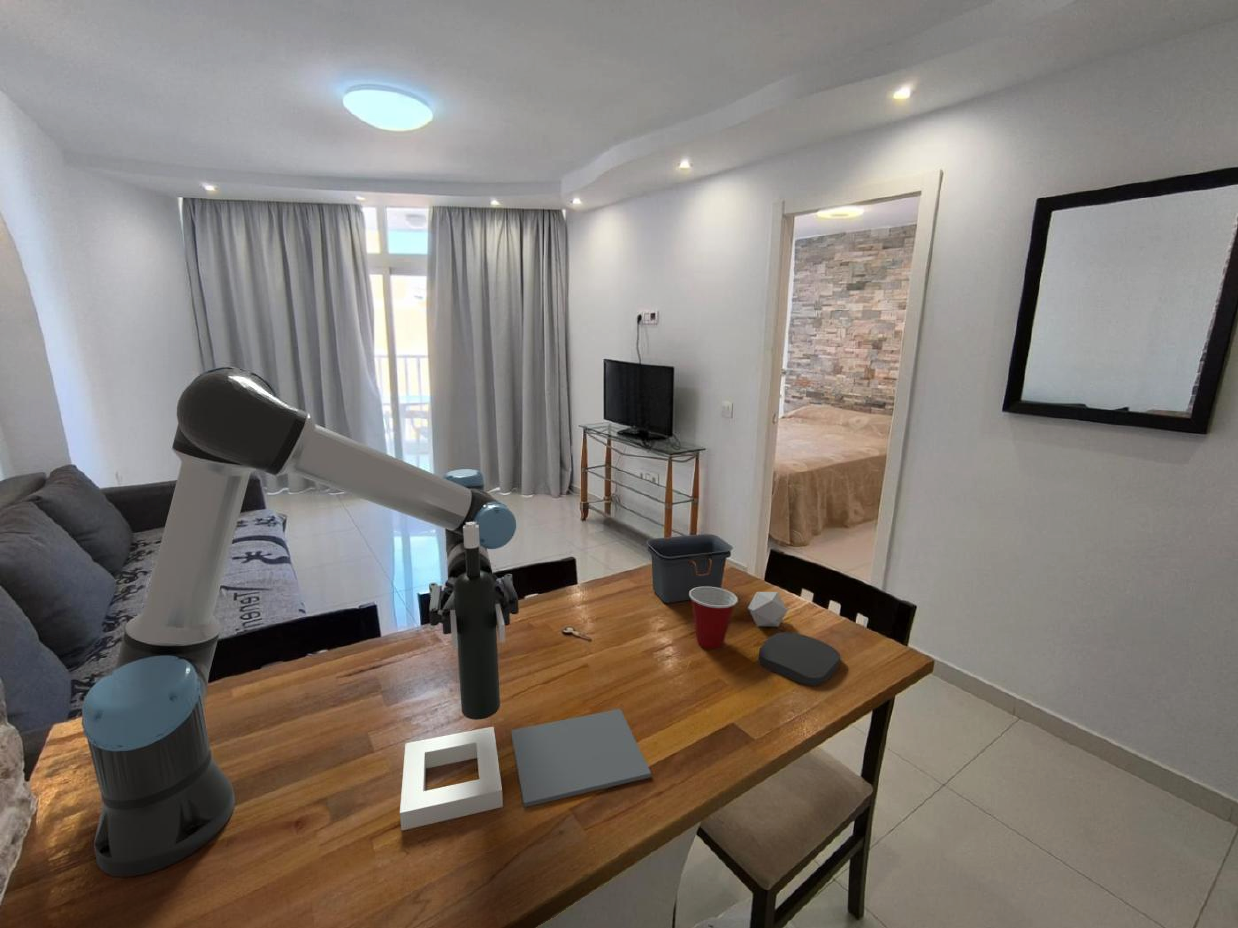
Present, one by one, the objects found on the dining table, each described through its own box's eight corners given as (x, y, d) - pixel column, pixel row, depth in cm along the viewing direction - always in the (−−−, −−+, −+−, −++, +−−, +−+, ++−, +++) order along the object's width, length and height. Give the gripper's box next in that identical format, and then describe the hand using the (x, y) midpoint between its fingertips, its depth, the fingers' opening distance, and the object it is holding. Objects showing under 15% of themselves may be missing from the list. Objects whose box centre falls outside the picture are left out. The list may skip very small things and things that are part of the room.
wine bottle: (478, 725, 82) (467, 533, 74) (453, 709, 85) (440, 524, 78) (507, 705, 86) (499, 522, 79) (483, 690, 89) (473, 514, 82)
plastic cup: (743, 642, 127) (747, 594, 124) (717, 661, 119) (720, 610, 116) (704, 625, 134) (706, 579, 131) (677, 642, 126) (679, 594, 123)
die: (777, 639, 129) (798, 603, 130) (746, 619, 130) (766, 583, 131) (767, 633, 137) (787, 599, 139) (738, 614, 138) (757, 581, 139)
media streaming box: (817, 692, 110) (819, 679, 109) (751, 663, 119) (752, 651, 118) (845, 661, 120) (846, 649, 120) (782, 636, 130) (783, 625, 129)
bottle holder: (401, 830, 78) (399, 812, 77) (406, 758, 91) (405, 743, 90) (502, 806, 82) (502, 789, 81) (494, 741, 95) (493, 726, 94)
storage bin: (709, 578, 160) (712, 531, 156) (738, 602, 145) (741, 551, 142) (641, 588, 153) (642, 539, 149) (664, 614, 139) (666, 561, 135)
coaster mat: (524, 807, 82) (523, 802, 82) (511, 734, 97) (511, 730, 96) (650, 777, 88) (651, 772, 88) (620, 712, 103) (620, 708, 102)
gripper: (523, 582, 102) (546, 650, 81) (415, 596, 97) (409, 672, 75) (521, 544, 100) (545, 603, 79) (411, 556, 95) (404, 622, 73)
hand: (478, 637), depth 77 cm, fingers closed on wine bottle, 6 cm apart
